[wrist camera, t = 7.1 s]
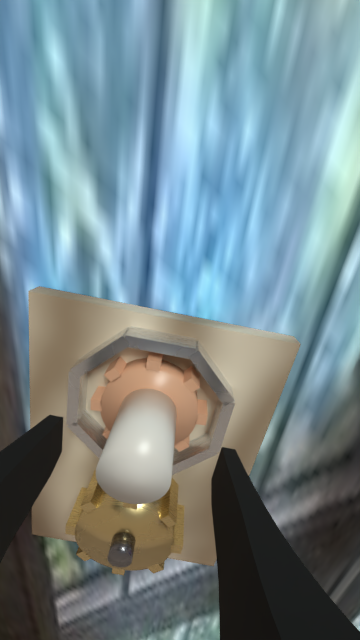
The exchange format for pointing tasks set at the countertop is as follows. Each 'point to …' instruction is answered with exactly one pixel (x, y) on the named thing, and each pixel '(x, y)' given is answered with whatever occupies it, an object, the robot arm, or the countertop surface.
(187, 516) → the carrier plate
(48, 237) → the countertop surface
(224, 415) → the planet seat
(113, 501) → the sun gear
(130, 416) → the gear
